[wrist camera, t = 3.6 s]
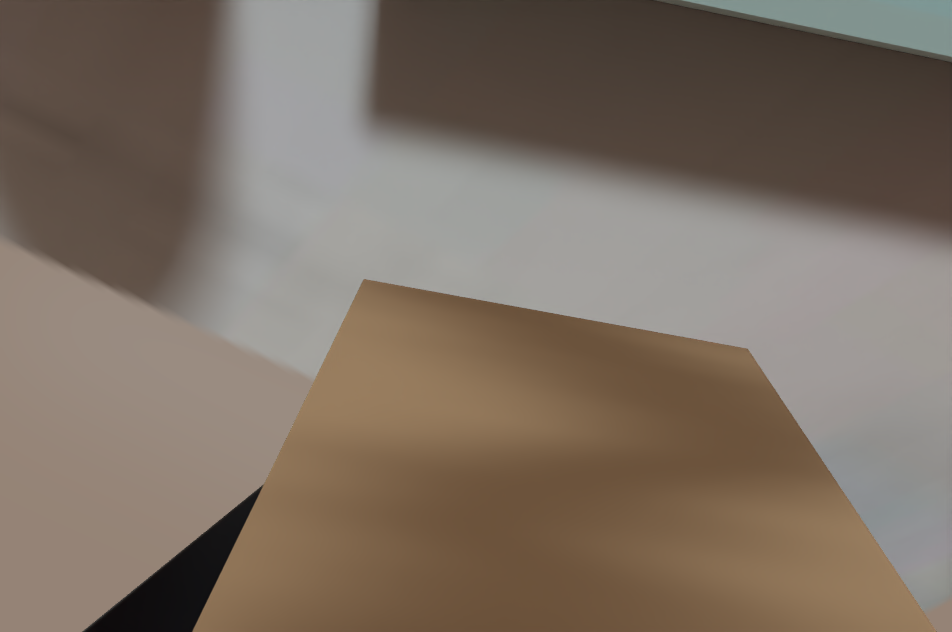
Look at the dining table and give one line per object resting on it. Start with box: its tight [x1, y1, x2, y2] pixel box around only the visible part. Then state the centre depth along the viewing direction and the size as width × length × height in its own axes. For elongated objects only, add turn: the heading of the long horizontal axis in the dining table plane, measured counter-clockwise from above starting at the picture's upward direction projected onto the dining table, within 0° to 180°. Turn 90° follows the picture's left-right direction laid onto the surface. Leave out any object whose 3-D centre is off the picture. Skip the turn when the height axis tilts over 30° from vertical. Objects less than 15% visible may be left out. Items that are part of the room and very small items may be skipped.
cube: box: [192, 279, 936, 632], centre depth 7 cm, size 5×5×5 cm
